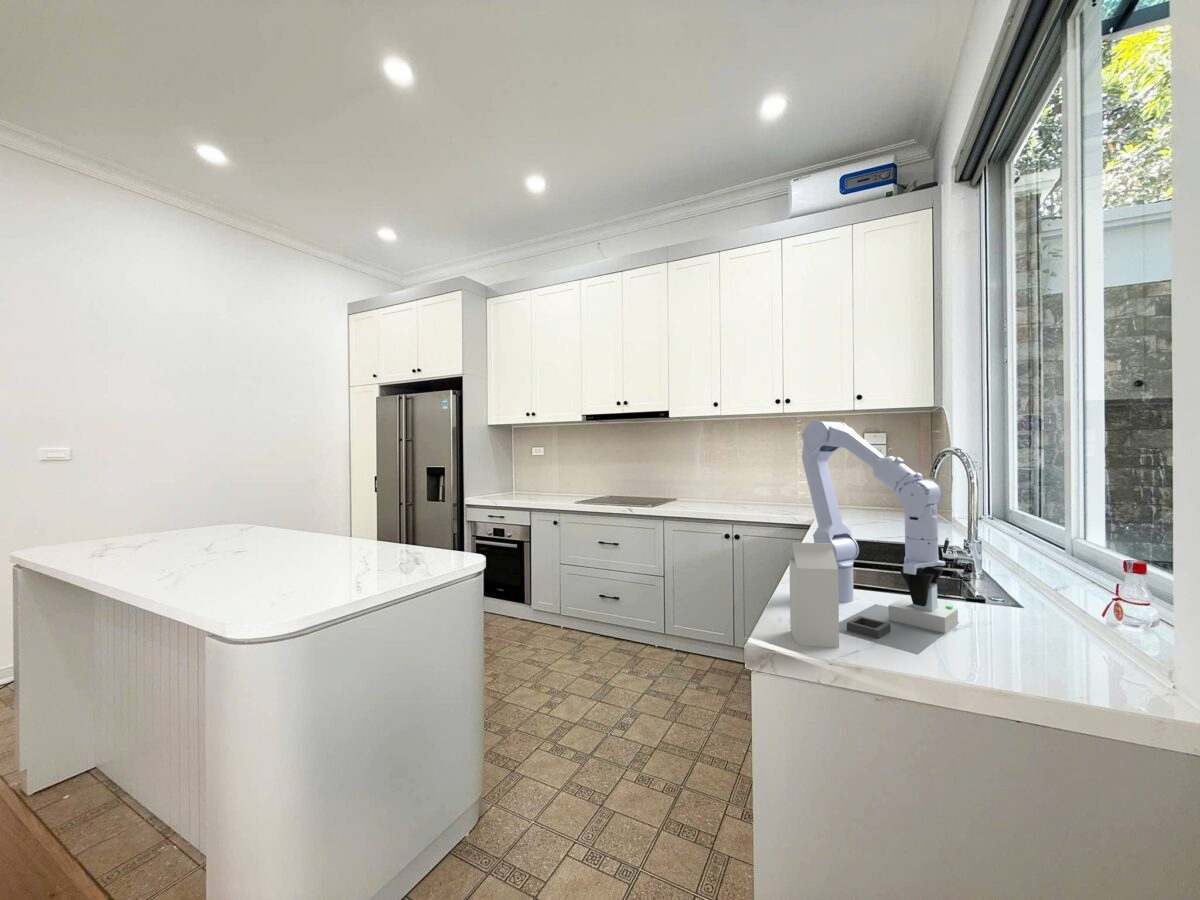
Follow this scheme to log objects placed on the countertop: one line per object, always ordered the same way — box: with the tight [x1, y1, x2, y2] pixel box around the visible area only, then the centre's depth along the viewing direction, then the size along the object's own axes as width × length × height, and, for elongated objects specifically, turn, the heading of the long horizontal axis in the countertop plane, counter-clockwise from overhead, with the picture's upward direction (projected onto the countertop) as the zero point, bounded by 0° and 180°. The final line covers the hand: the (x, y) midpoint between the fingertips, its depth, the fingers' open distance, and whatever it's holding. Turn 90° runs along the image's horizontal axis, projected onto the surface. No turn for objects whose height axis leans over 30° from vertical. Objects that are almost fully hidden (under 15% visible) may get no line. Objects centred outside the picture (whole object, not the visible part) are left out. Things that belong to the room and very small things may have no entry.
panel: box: [839, 597, 960, 655], centre depth 96 cm, size 16×24×4 cm, turn 129°
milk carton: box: [788, 542, 840, 649], centre depth 90 cm, size 7×7×19 cm
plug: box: [914, 583, 938, 612], centre depth 98 cm, size 3×3×7 cm
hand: (922, 603), depth 98 cm, fingers closed on plug, 3 cm apart
